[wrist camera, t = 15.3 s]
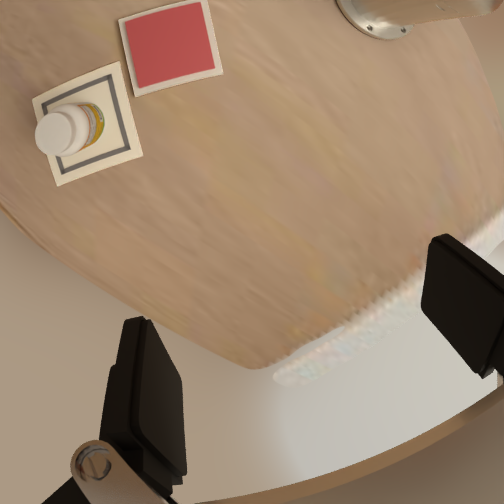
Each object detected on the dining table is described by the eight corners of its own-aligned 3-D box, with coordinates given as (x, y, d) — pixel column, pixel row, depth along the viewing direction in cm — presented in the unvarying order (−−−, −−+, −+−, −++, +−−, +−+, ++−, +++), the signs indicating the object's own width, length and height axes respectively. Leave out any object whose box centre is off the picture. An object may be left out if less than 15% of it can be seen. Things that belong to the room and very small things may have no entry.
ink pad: (205, -1, 27) (206, -6, 25) (222, 74, 32) (224, 73, 30) (120, 22, 26) (116, 18, 25) (136, 97, 31) (133, 97, 29)
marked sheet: (119, 61, 29) (119, 60, 28) (143, 155, 34) (143, 156, 34) (32, 98, 28) (31, 99, 28) (58, 185, 34) (56, 186, 33)
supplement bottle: (60, 140, 31) (23, 156, 23) (72, 97, 29) (36, 100, 21) (98, 151, 33) (70, 169, 24) (111, 107, 31) (85, 111, 22)
